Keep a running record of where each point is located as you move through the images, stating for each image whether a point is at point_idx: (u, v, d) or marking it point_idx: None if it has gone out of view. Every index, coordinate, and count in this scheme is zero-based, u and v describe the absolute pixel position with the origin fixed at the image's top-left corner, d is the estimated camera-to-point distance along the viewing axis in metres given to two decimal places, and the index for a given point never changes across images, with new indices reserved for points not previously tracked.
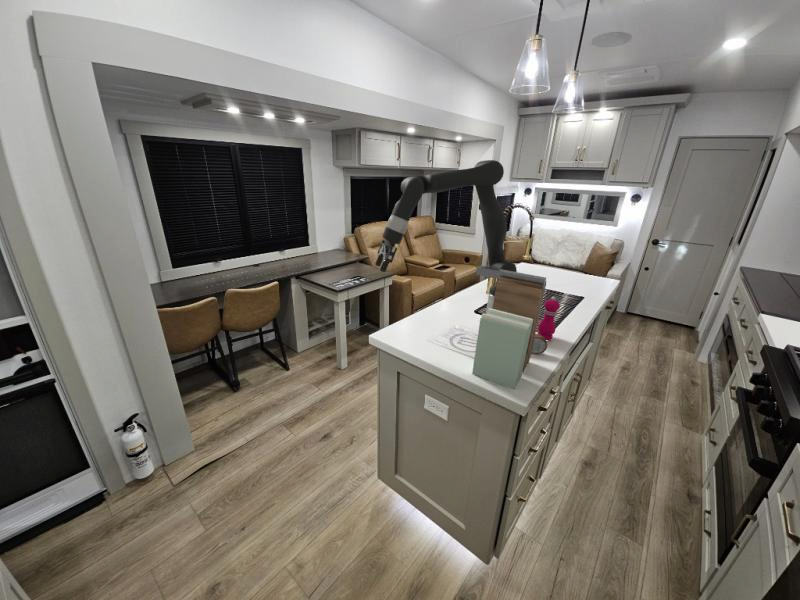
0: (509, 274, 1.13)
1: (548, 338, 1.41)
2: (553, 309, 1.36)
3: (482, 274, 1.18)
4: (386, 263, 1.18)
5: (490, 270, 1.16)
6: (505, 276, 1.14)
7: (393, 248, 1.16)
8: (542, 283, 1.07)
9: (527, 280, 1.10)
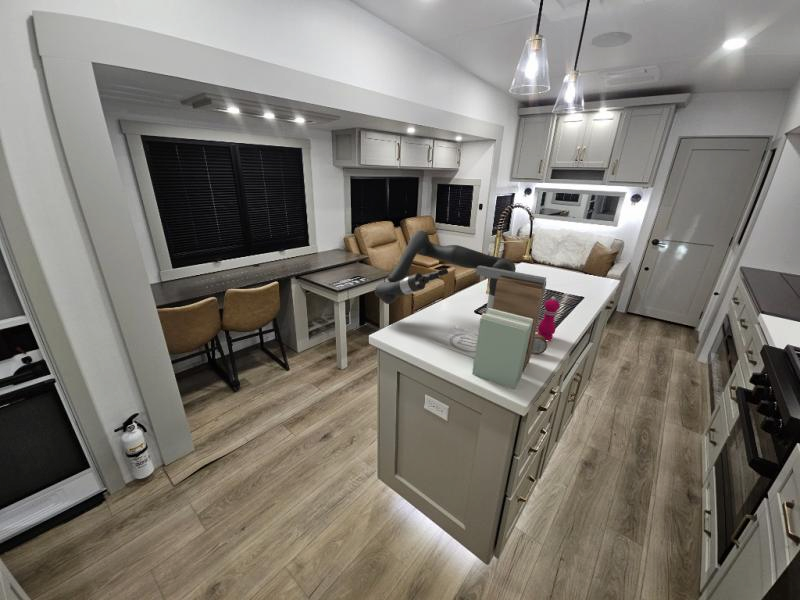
0: (509, 274, 1.13)
1: (548, 338, 1.41)
2: (553, 309, 1.36)
3: (482, 274, 1.18)
4: (430, 278, 1.29)
5: (490, 270, 1.16)
6: (505, 276, 1.14)
7: (416, 283, 1.31)
8: (542, 283, 1.07)
9: (527, 280, 1.10)
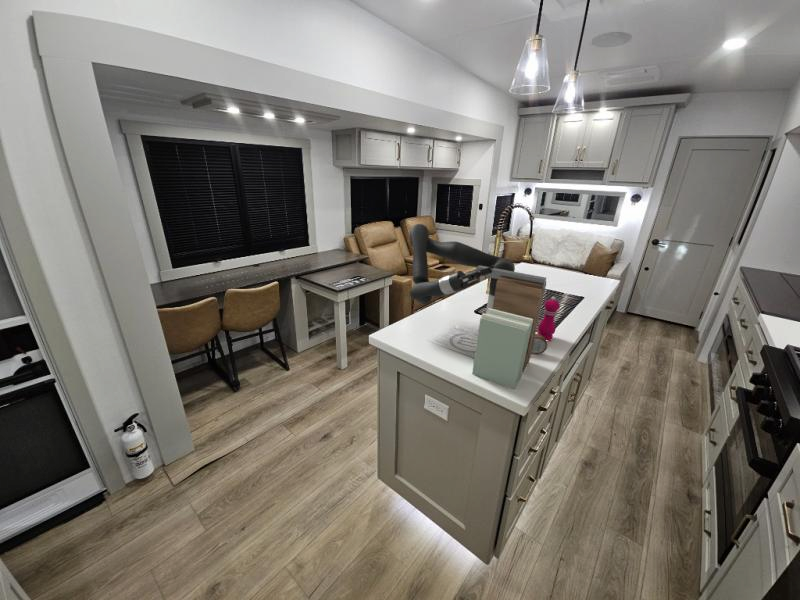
0: (509, 274, 1.13)
1: (548, 338, 1.41)
2: (553, 309, 1.36)
3: None
4: (481, 273, 1.17)
5: None
6: (505, 276, 1.14)
7: (464, 280, 1.18)
8: (542, 283, 1.07)
9: (527, 280, 1.10)
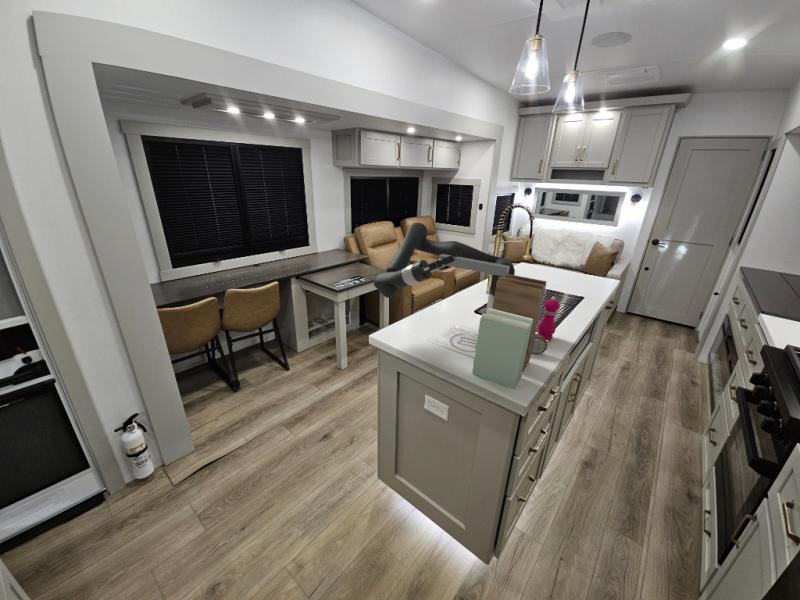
0: (471, 262, 1.06)
1: (548, 338, 1.41)
2: (553, 309, 1.36)
3: None
4: (443, 262, 1.10)
5: None
6: (467, 265, 1.07)
7: (425, 269, 1.10)
8: (504, 272, 1.00)
9: (489, 269, 1.03)
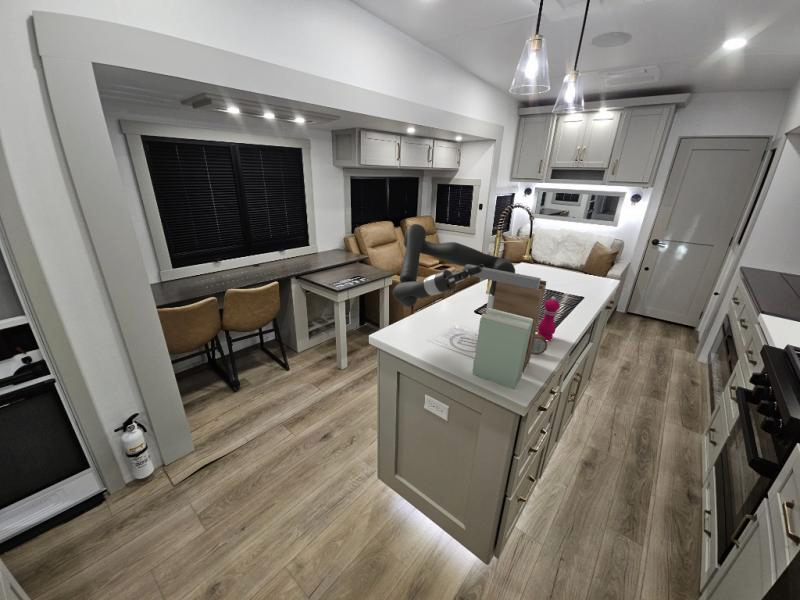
0: (499, 274, 1.01)
1: (548, 338, 1.41)
2: (553, 309, 1.36)
3: None
4: (469, 273, 1.06)
5: None
6: (495, 276, 1.02)
7: (450, 280, 1.06)
8: (536, 284, 0.96)
9: (519, 281, 0.99)
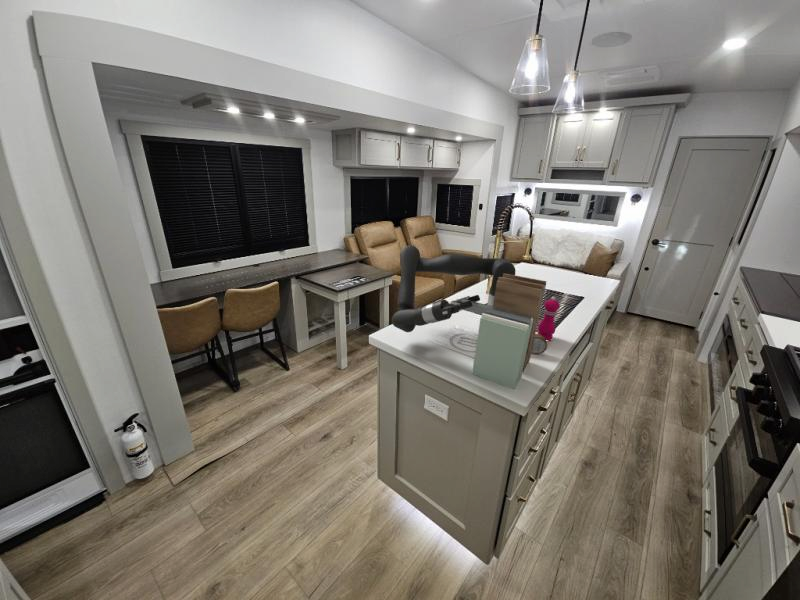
0: (493, 311, 1.06)
1: (548, 338, 1.41)
2: (553, 309, 1.36)
3: (465, 309, 1.12)
4: (461, 306, 1.09)
5: (474, 305, 1.09)
6: (489, 312, 1.07)
7: (443, 313, 1.11)
8: (527, 322, 1.01)
9: (512, 318, 1.03)
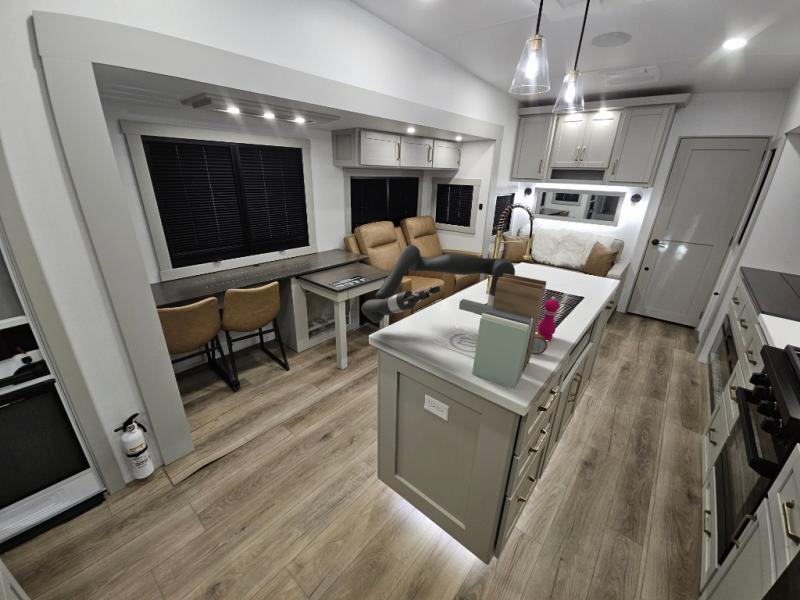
0: (493, 311, 1.06)
1: (548, 338, 1.41)
2: (553, 309, 1.36)
3: (465, 309, 1.12)
4: (419, 297, 1.16)
5: (474, 305, 1.09)
6: (489, 312, 1.07)
7: (404, 303, 1.19)
8: (527, 322, 1.01)
9: (512, 318, 1.03)
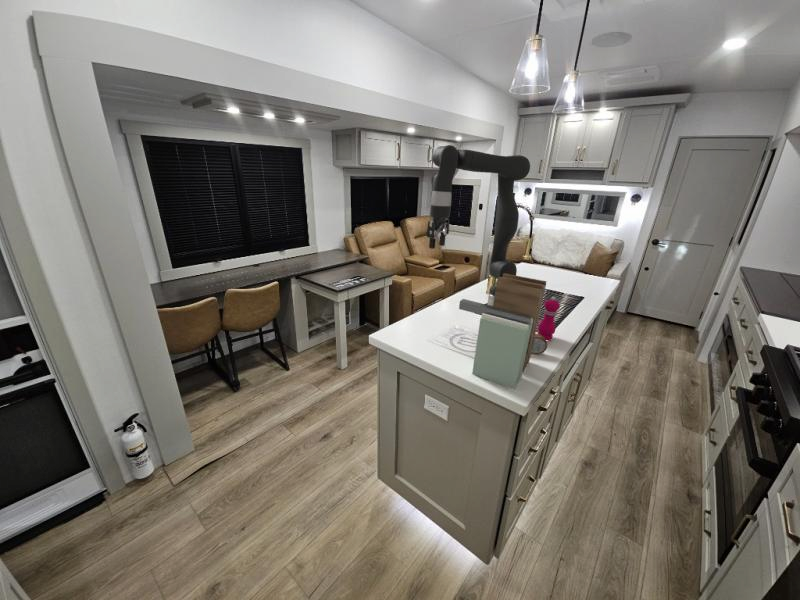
0: (493, 311, 1.06)
1: (548, 338, 1.41)
2: (553, 309, 1.36)
3: (465, 309, 1.12)
4: (431, 239, 1.20)
5: (474, 305, 1.09)
6: (489, 312, 1.07)
7: (430, 222, 1.16)
8: (527, 322, 1.01)
9: (512, 318, 1.03)
